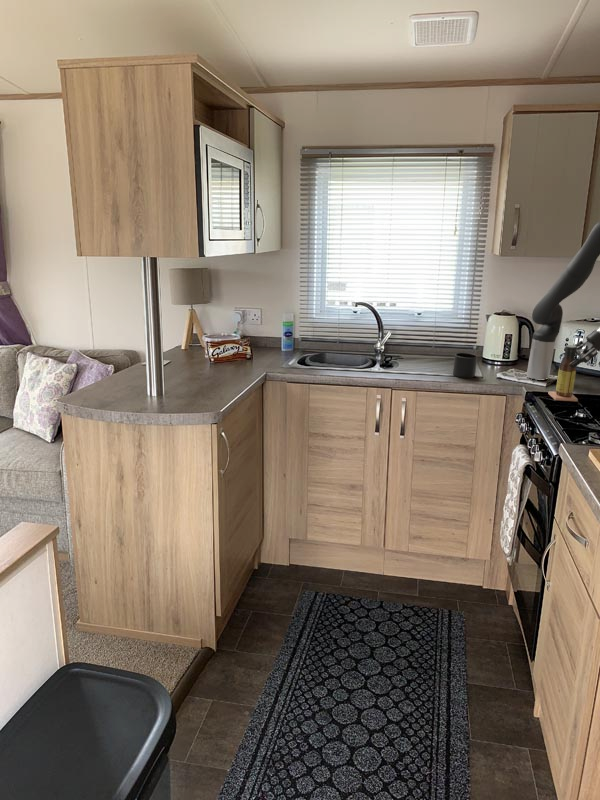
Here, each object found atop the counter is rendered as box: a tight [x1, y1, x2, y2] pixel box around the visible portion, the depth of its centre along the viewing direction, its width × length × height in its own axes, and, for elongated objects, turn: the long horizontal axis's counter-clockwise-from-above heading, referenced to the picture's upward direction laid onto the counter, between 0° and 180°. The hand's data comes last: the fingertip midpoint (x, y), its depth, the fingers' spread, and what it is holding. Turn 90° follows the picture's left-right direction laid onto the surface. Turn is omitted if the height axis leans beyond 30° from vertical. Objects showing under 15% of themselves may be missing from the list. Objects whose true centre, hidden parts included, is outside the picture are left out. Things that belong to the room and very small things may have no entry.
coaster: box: [547, 390, 579, 402], centre depth 241 cm, size 8×8×1 cm
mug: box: [452, 352, 478, 379], centre depth 267 cm, size 9×12×9 cm
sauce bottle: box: [555, 344, 577, 397], centre depth 238 cm, size 7×6×20 cm
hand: (566, 363), depth 237 cm, fingers open, 8 cm apart
